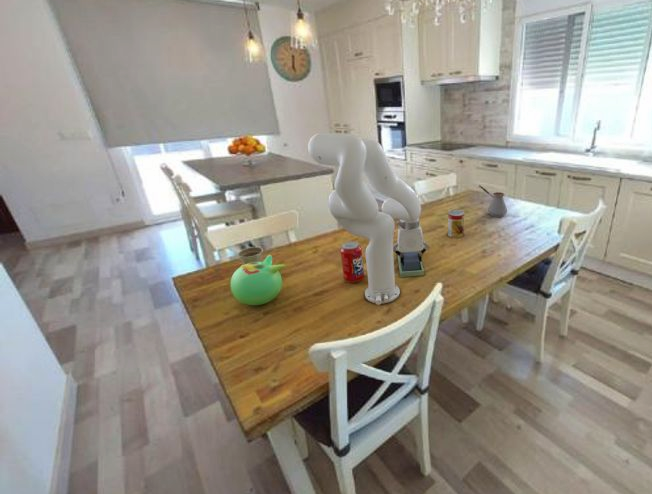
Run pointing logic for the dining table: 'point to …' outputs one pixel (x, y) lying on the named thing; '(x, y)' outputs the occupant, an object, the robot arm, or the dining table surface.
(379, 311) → the dining table surface
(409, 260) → the pad slate
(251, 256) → the flower pot
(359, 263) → the soda can
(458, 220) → the canned food
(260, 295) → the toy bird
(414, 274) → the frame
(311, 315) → the dining table surface
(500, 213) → the coffee pot
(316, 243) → the dining table surface
